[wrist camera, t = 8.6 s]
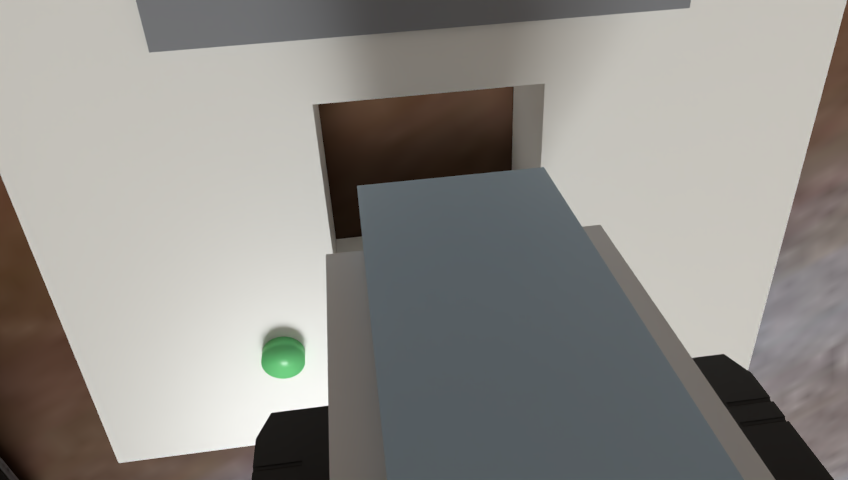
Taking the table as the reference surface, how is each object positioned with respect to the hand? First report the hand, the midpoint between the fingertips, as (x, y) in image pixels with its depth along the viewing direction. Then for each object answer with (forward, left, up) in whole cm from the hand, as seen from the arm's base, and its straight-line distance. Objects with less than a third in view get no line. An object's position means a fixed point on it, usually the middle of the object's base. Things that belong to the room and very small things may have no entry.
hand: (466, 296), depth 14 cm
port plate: (0, 0, -7) cm, 7 cm away
